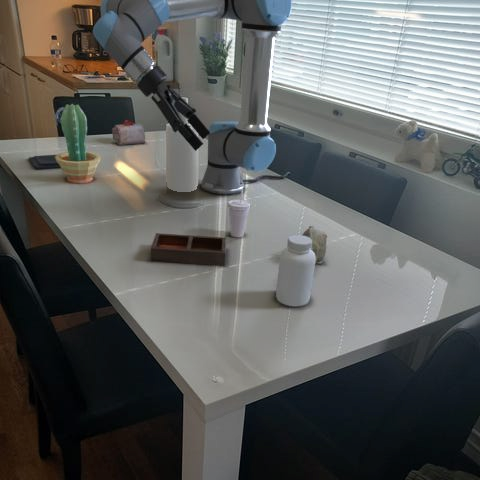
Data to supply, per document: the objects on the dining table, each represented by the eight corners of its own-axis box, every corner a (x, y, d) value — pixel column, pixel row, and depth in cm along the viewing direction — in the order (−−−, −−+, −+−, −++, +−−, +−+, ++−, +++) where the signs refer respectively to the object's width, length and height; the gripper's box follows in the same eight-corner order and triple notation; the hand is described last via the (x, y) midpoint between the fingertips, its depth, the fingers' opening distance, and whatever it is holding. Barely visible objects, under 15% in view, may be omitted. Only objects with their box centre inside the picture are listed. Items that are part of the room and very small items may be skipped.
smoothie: (245, 240, 144) (249, 193, 137) (223, 237, 145) (226, 189, 138) (249, 232, 150) (253, 186, 142) (228, 229, 151) (231, 183, 143)
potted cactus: (88, 170, 190) (81, 99, 177) (110, 181, 181) (105, 107, 168) (49, 177, 180) (39, 102, 167) (71, 188, 172) (62, 110, 158)
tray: (156, 245, 137) (155, 233, 135) (225, 249, 138) (226, 237, 136) (150, 261, 129) (150, 248, 127) (224, 265, 130) (225, 252, 128)
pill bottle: (272, 290, 120) (279, 231, 112) (305, 291, 121) (314, 232, 113) (277, 307, 113) (285, 246, 105) (312, 308, 114) (322, 247, 106)
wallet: (34, 164, 185) (27, 154, 197) (34, 169, 186) (28, 158, 198) (88, 161, 194) (80, 151, 205) (89, 166, 195) (80, 156, 206)
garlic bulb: (307, 273, 134) (305, 245, 127) (291, 256, 140) (288, 228, 132) (336, 260, 136) (337, 231, 129) (319, 243, 142) (319, 214, 134)
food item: (118, 146, 224) (116, 123, 218) (111, 142, 229) (110, 119, 224) (146, 144, 230) (146, 121, 225) (139, 140, 236) (138, 118, 230)
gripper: (148, 79, 139) (200, 140, 146) (122, 91, 118) (185, 162, 125) (166, 59, 136) (219, 122, 143) (144, 68, 115) (207, 142, 122)
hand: (203, 141), depth 134 cm, fingers open, 13 cm apart
